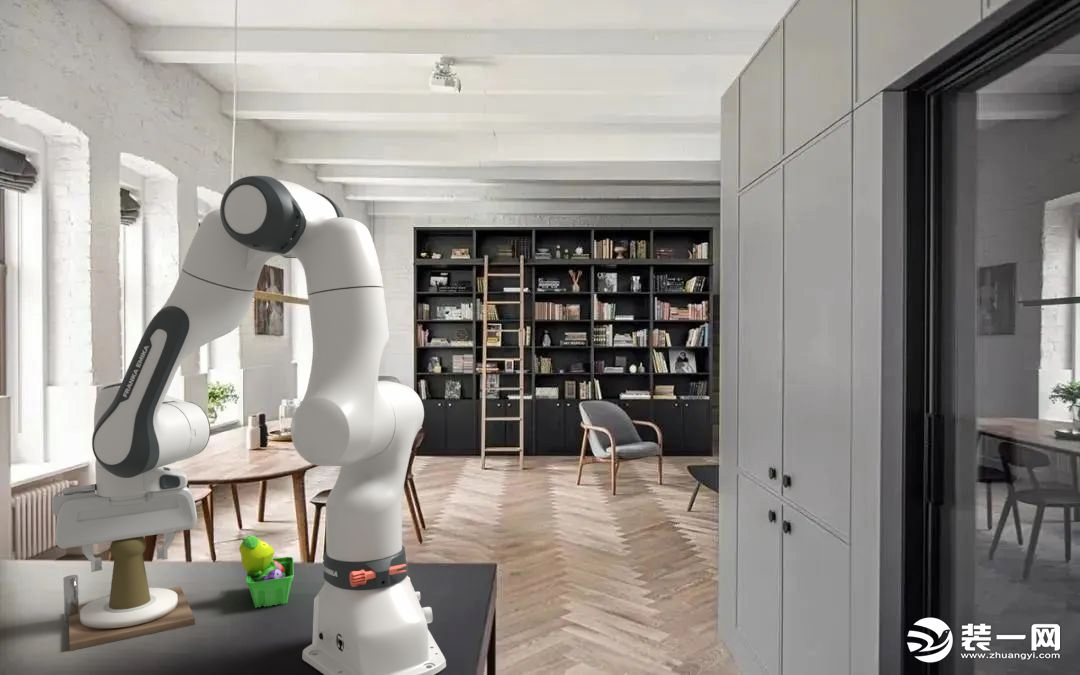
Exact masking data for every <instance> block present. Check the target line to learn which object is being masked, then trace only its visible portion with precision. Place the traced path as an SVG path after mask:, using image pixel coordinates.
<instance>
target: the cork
mask: <svg viewBox="0 0 1080 675" xmlns="http://www.w3.org/2000/svg"><path fill="white" fill-rule="evenodd" d="M146 548H147V541H146V538H145V536H143V537H136V538H130V539H123V540H117V541H111V543H110V546H109V552H110V555H111V556H112V558H113V566H112V567H113V569H112V577H111V583H110V584H111V585H110V592H109V595H110V600H109V607H110V608H111V609H117V610H122V609H130V608H135V607H139V606H142V605H144V604H146V603H148V602H149V601H150V600H151V598H150V593H149V588H150V587H149V582H148V577H147V573H146V572H147V570H146V566H145V561H144V560H145V559H144V555H143V554H144V553H145V552H146Z"/></svg>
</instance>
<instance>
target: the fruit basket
mask: <svg viewBox="0 0 1080 675" xmlns="http://www.w3.org/2000/svg"><path fill="white" fill-rule="evenodd" d="M241 540H242V542H241V543H240V545H239V553H240V558H241V560H240V561H241V565H242V567H243V569H244V570H245V571H246V572H247V573H246V584H247V587H248V588H249V591H250V596H251V599H252V602H253V606H254V607H255V609H258V608H257V607H259V608H262V607H261V606H264V607H263V608H265V607H266V606H267V607H273V606H272V605H275V606H279V605H286V604H285V603H287V604H288V600H289V595H290V590H291V587H292V586H291V585H292V583H293V580H294V576H295V575H294V574H295V573H294V557H293V556H292V557H291V556H284V557H283V556H282V557H277V558H276V557H274V555H275V549H274V547H272V545H270V544H268V543H267V542H266V541H262V540H261V539H259V538H258V537H257V536H255V535H248V536H247V537H242V539H241ZM273 557H274V558H273ZM278 604H279V605H278Z"/></svg>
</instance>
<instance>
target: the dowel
mask: <svg viewBox="0 0 1080 675" xmlns="http://www.w3.org/2000/svg"><path fill="white" fill-rule="evenodd" d="M62 583H63V609H64V614H63V615H64V622H65V623H69V616H71V615H75V614H78V613H79V605H80V604H79V576H78V575H77V574H70V575H66V576H64V577H63V582H62Z"/></svg>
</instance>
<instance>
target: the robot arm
mask: <svg viewBox="0 0 1080 675" xmlns="http://www.w3.org/2000/svg"><path fill="white" fill-rule="evenodd" d="M219 207H220V208H219V209H215V210H211V211H210V212H208V213H207V215H206V214H205V216H204V218H203V220H202V221H201V223H200V225H199V226H198V228H197V230H196V232H195V234H194V236H193V238H192V240H191V243H190V246H189V247H188V250H187V252H186V255H185V257H184V261H183V264H182V265H181V266H182V267H181V271H180V273H179V276H178V278H177V280H176V284H175V286H174V287H173V290H172V291H171V293H170V295H169V296H168V299H167V300H166V302H164V305H163V306H162V307H161V308H160V310H159V311H158V312H156V314H155V315H154V316H153V318H152V319H151V320H150V322H149V324H148V325H147V327H146V329H145V331H144V332H143V335H142V336H141V339H140V341H139V342H138V346H137V348H136V350H135V351H134V354H133V357H132V358H131V361H130V363H129V365H128V368H127V371H126V372H125V375H124V377H123V379H122V381H121V382H118V383H114V384H109V385H106V386H104V387H103V388H102V389H100V390H99V391H98V393H97V396H96V399H95V403H94V412H93V414H94V415H93V433H92V439H91V448H92V453H93V455H94V457H95V466H94V467H95V470H94V471H95V483H94V484H85V485H80V486H77V487H76V486H75V487H73V486H69V487H63V488H62V490H60V491H58V492H56V493H55V494H54V495H53V497H51V498H52V499H51V512H52V514H53V516H55V517H56V525H55V526H56V527H55V544H56V546H58V547H59V548H60V549H64V550H65V549H70V548H77V547H82V554H83V555H84V556H85V557H86V558H87V560H88V561H89V562H90V568H91V569H90V570H91V573H93V572H101V571H103V566H102V564H103V562H102V561H103V559H102V557H101V556H100V557H95V555H94V554H93V553H92V551H93V550H94V548H93V547H94V545H95V544H96V545H97V544H102V543H109V542H112V541H117V540H123V539H130V538H136V537H149V536H154V535H161V534H163V537H164V539H165V540H164V543H163V544H162V546H160V547H156V559H157V561H158V562H159V561H164V560H168V558H169V557H168V556H169V554H168V550H169V548H170V547H171V545H172V543H173V542H174V540H175V532H179V531H180V532H181V531H187V530H192V529H194V527H196V525H197V523H198V513H197V507H196V503H195V502H196V501H195V497H194V495H193V493H192V491H191V490H190V488H188V486H187V485H188V482H189V481H188V476H187V473H186V472H185V471H183V470H182V469H178V468H172V467H169V466H168V465H172V464H175V463H176V462H180V461H185V460H187V459H190V458H193V457H194V456H197V455H199V454H200V453H202V452H203V451H204V450H205V448H206V447H207V446H208V443H209V441H210V436H211V423H210V420H209V417H208V415H207V413H206V411H205V410H204V409H203V408H202V407H201V406H199V405H198V404H197V403H194V402H192V401H185V400H181V399H178V398H175V397H173V396H170V395H169V394H168V395H167V393H168V391H169V389H170V386H171V384H172V382H173V380H174V378H175V375H176V373H177V371H178V369H179V367H180V366H181V364H182V363H183V362H184V361H185V359H187V358H188V357H189V356H191V354H192V353H194V352H195V351H197V350H198V349H200V348H202V346H205V345H206V344H208V343H210V342H212V341H215V340H216V339H219V338H221V337H223V336H226V335H228V334H229V333H231V332H233V331H234V330H236V329H238V327H239V326H240V325H241V324H242V322H243V321H244V319H245V317H246V316H247V314H248V312H249V310H250V309H251V306H252V303H253V300H254V297H255V293H256V289H257V286H258V282H259V279H260V276H261V273H262V270H263V268H264V267H265V264H266V263H267V262H268V261H269V260H270V259H271V258H275V257H277V256H280V257H282V258H285V259H297V260H298V261H299V262H300V264H301V265H302V268H303V270H304V276H305V283H306V292H307V301H308V308H309V318H310V325H311V326H310V327H311V336H312V358H311V359H312V360H311V367H310V374H309V379H308V384H307V388H306V392H305V394H304V396H303V399H302V400H301V402H300V404H299V406H298V407H297V408H296V409H295V412H294V413H293V415H292V418H291V422H290V437H291V441H292V444H293V446H294V449H295V450H296V452H297V453H298V455H299V456H300V457H301V458H303V459H304V461H306V462H308V463H309V464H311V465H315V466H317V467H318V466H319V467H340V470H339V474H338V476H337V478H336V481H335V483H334V486H333V487H332V489H331V490H330V492H329V494H328V496H327V499H326V503H325V543H326V546H325V547H326V548H325V549H326V550H325V552H324V554H323V561H322V569H323V579H324V580H325V581H324V583H323V585H322V587H321V589H320V590H319V592H318V593H317V594H316V596H315V597H314V600H313V614H312V615H313V617H312V619H313V620H312V643H311V644H310V645H308V646H306V647H305V648H304V649H302V657H301V658H302V660H303V661H304V662H306V663H307V664H308V665H310V666H311V667H313V669H315V670H317V671H319V672H320V673H322V674H323V675H436V674H438V673H440V672H442V671H443V670H444V669H445V668H446V667H447V663H446V662H447V660H446V658H445V656H444V654H443V652H442V651H441V649H440V647H439V646H438V644H437V642H436V641H435V639H434V637H433V635H432V633H431V631H430V630H429V629H428V628H429V627H428V624H431V623H433V620H434V617H433V615H434V614H433V610H432V606H431V607H430V606H424V607H422V605H421V604H420V601H421V592H420V591H415V588H414V586H413V584H412V582H411V578H410V577H409V576H408V575H409V568H408V567H409V566H408V562H409V561H408V556H407V554H406V548H405V546H404V545H403V496H404V495H403V494H404V487H405V481H406V476H407V473H408V472H407V471H408V467H409V463H410V462H409V461H410V457H411V453H412V448H413V445H414V442H415V439H416V437H417V435H418V433H419V431H420V429H421V428H422V425H423V422H424V418H425V410H424V404H423V402H422V399H421V397H420V396H419V394H418V393H417V392H416V391H415V390H414V389H412V387H410V386H408V385H407V384H406V385H405V384H403V383H400V382H394V381H390V380H379V376H380V367H381V361H382V358H383V354H384V352H385V349H386V348H387V347H388V345H389V341H390V328H389V322H388V321H389V318H388V312H387V311H388V310H387V305H386V304H387V303H386V297H385V290H384V281H383V277H382V271H381V265H380V261H379V256H378V254H377V251H376V250H377V249H376V247H375V244H374V240H373V237H372V235H371V233H370V232H371V231H370V230H369V229H368V227H367V226H366V225H365V224H364V223H362V222H360V221H359V220H356V219H354V218H350V217H345V216H344V213H343V212H342V210H341V208H340V207H339V206H338V205H337V204H336V203H335V202H334V201H333V200H332V199H331V198H329V197H328V196H326V195H325V194H322V193H320V192H316V191H313V190H312V189H308V188H306V187H304V186H303V185H301V184H299V183H295V182H292V181H287V180H282V179H276V178H274V177H272V176H267V175H249V176H245V177H241V178H239V179H237V180H235V181H233V183H231V184H230V185H229V186H228V187H227V189H226V190H225V192H224V194H223V195H222V199H221V200H220V205H219ZM165 466H166V467H165ZM167 466H168V467H167Z"/></svg>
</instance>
